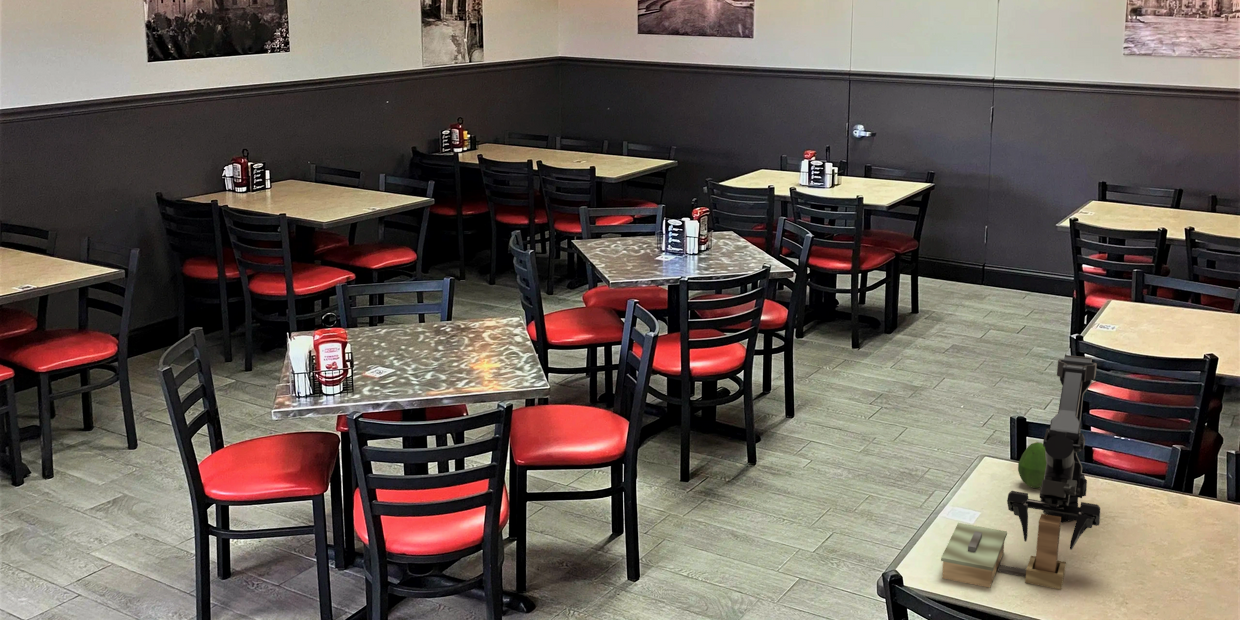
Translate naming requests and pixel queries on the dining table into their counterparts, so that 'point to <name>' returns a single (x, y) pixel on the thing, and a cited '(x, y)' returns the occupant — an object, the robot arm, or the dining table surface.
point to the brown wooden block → (1048, 543)
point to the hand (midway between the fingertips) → (1047, 544)
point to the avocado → (1033, 465)
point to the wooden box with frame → (988, 559)
